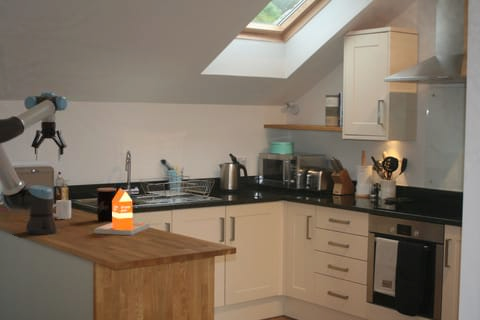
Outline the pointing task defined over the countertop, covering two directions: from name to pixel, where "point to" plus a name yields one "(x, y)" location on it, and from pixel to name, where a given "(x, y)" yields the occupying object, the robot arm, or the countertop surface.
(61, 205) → the mug
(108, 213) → the coffee jar
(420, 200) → the countertop surface
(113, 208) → the orange juice
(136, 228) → the tray
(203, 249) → the countertop surface
